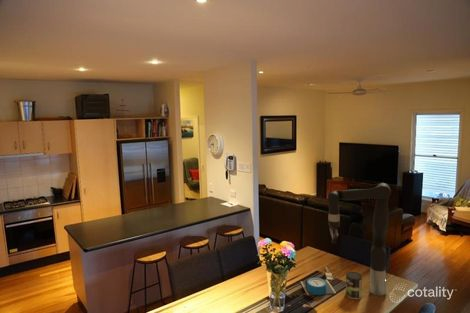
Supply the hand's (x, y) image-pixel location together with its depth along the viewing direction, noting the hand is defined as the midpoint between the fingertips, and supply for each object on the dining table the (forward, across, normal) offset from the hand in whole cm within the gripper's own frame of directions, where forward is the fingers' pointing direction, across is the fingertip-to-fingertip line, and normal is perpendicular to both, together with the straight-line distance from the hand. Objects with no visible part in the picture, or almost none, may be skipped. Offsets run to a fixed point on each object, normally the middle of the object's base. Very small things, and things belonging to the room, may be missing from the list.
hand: (334, 243), depth 227 cm
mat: (+31, -3, +13) cm, 34 cm away
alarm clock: (+27, -14, +14) cm, 33 cm away
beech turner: (+31, +14, -1) cm, 34 cm away
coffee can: (+31, -15, -8) cm, 35 cm away
